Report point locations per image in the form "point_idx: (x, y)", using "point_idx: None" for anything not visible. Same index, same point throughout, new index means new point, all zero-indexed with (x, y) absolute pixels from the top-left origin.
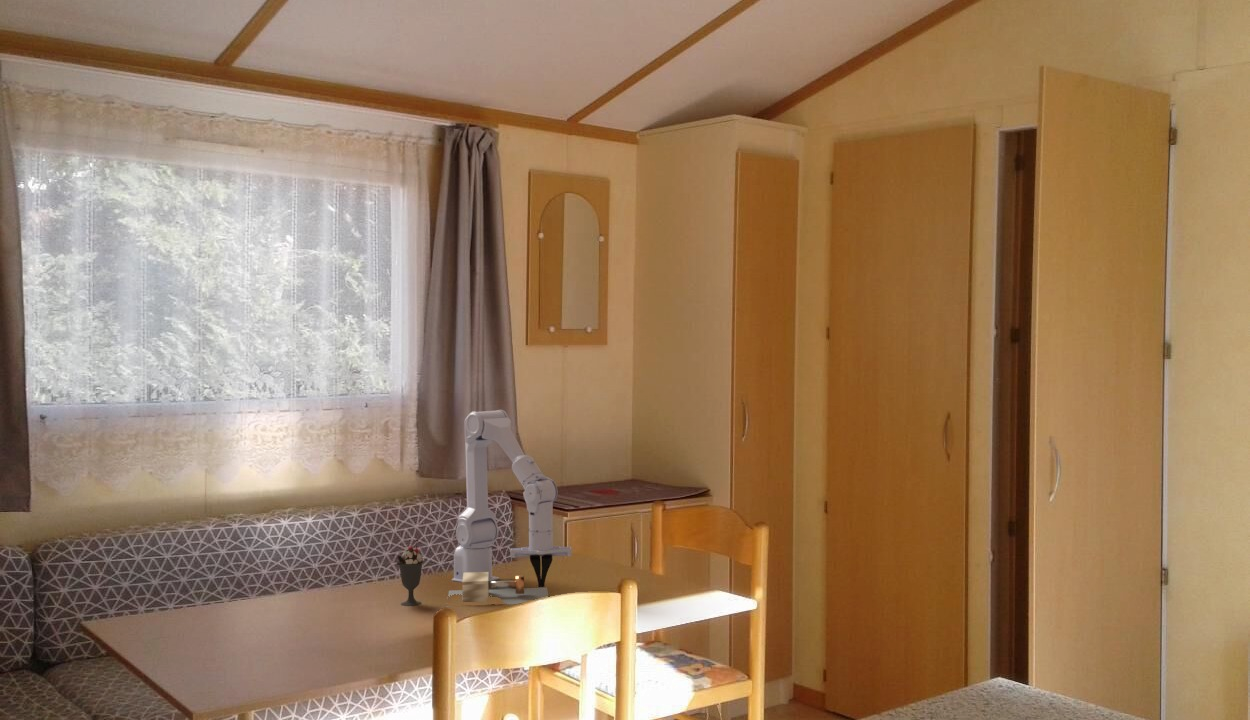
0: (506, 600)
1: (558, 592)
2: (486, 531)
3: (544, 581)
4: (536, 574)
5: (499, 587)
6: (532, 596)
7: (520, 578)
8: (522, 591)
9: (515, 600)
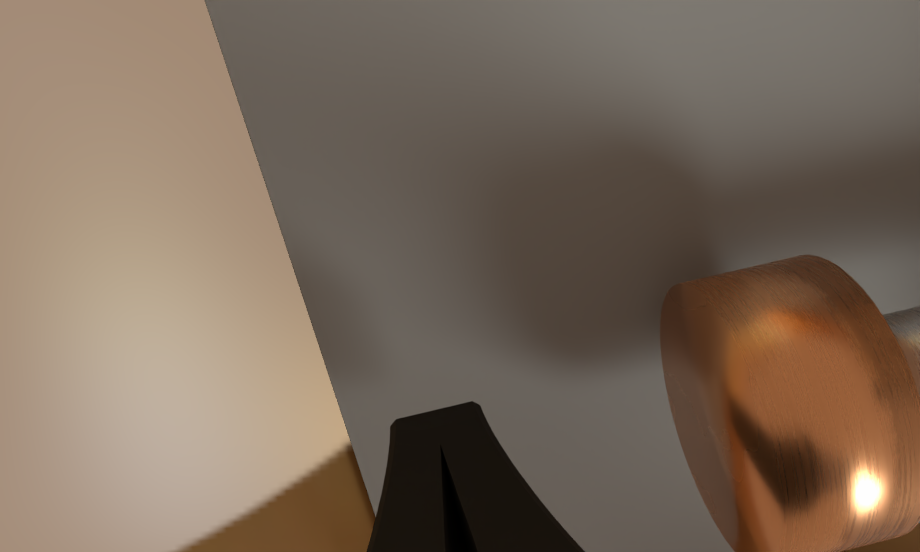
0: (896, 60)
1: (251, 542)
2: None
3: (390, 476)
4: (563, 538)
5: None
6: (537, 310)
7: (834, 425)
8: (703, 279)
9: (769, 74)
